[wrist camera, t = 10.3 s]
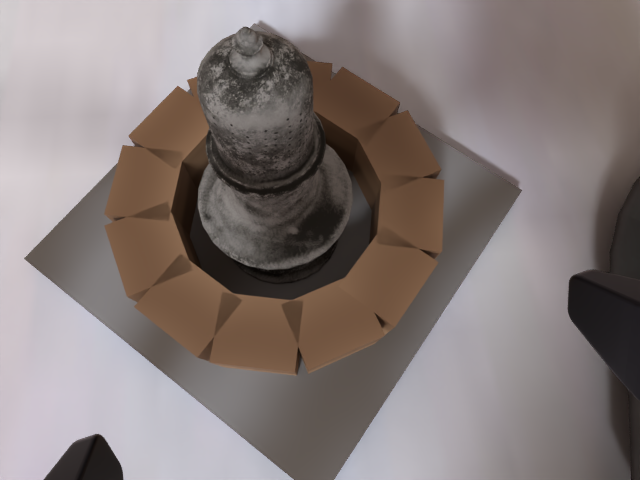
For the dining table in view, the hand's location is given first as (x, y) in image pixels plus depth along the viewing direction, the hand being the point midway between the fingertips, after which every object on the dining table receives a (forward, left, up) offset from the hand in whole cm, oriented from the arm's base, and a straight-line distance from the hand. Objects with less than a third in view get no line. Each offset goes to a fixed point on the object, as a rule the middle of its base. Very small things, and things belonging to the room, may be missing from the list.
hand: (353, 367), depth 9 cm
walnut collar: (+6, -4, -12) cm, 14 cm away
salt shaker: (+6, -4, -11) cm, 13 cm away
